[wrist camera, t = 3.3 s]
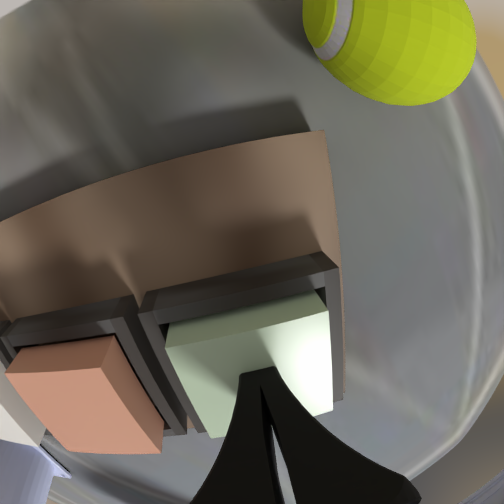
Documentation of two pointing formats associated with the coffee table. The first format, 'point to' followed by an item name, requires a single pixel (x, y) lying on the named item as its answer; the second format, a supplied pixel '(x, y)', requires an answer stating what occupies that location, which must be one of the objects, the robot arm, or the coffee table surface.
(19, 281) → the console
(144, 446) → the key terracotta
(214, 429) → the key sage
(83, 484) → the coffee table surface
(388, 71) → the tennis ball
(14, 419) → the key white
